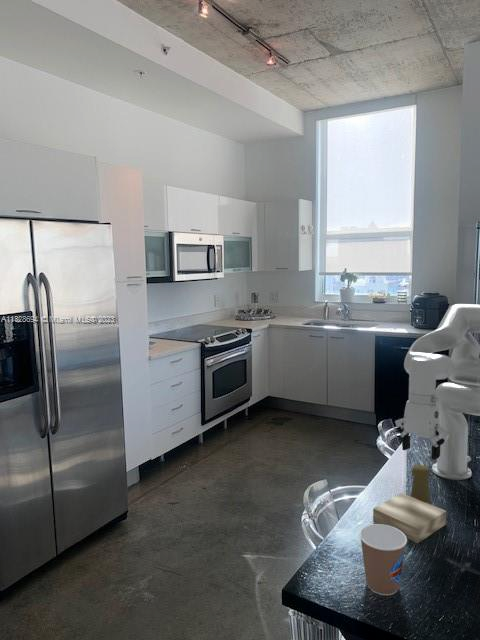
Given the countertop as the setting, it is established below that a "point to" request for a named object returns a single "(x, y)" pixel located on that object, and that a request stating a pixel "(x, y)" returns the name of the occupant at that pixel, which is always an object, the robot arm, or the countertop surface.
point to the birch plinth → (410, 516)
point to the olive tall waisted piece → (421, 483)
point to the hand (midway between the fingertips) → (420, 453)
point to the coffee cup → (383, 557)
